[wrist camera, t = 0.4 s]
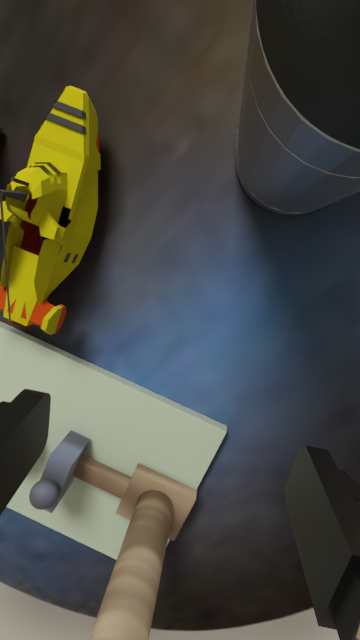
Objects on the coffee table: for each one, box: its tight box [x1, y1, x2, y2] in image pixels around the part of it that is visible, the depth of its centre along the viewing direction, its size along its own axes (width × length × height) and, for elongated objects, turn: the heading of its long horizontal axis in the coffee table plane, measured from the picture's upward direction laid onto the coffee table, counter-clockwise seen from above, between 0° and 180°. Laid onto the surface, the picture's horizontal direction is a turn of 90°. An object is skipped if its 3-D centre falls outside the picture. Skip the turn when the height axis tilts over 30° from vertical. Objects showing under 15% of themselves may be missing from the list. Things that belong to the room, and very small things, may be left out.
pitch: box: [0, 321, 227, 560], centre depth 29 cm, size 18×30×9 cm, turn 66°
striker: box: [29, 430, 197, 640], centre depth 26 cm, size 5×13×13 cm, turn 66°
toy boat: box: [0, 86, 101, 335], centre depth 25 cm, size 6×18×10 cm, turn 159°
